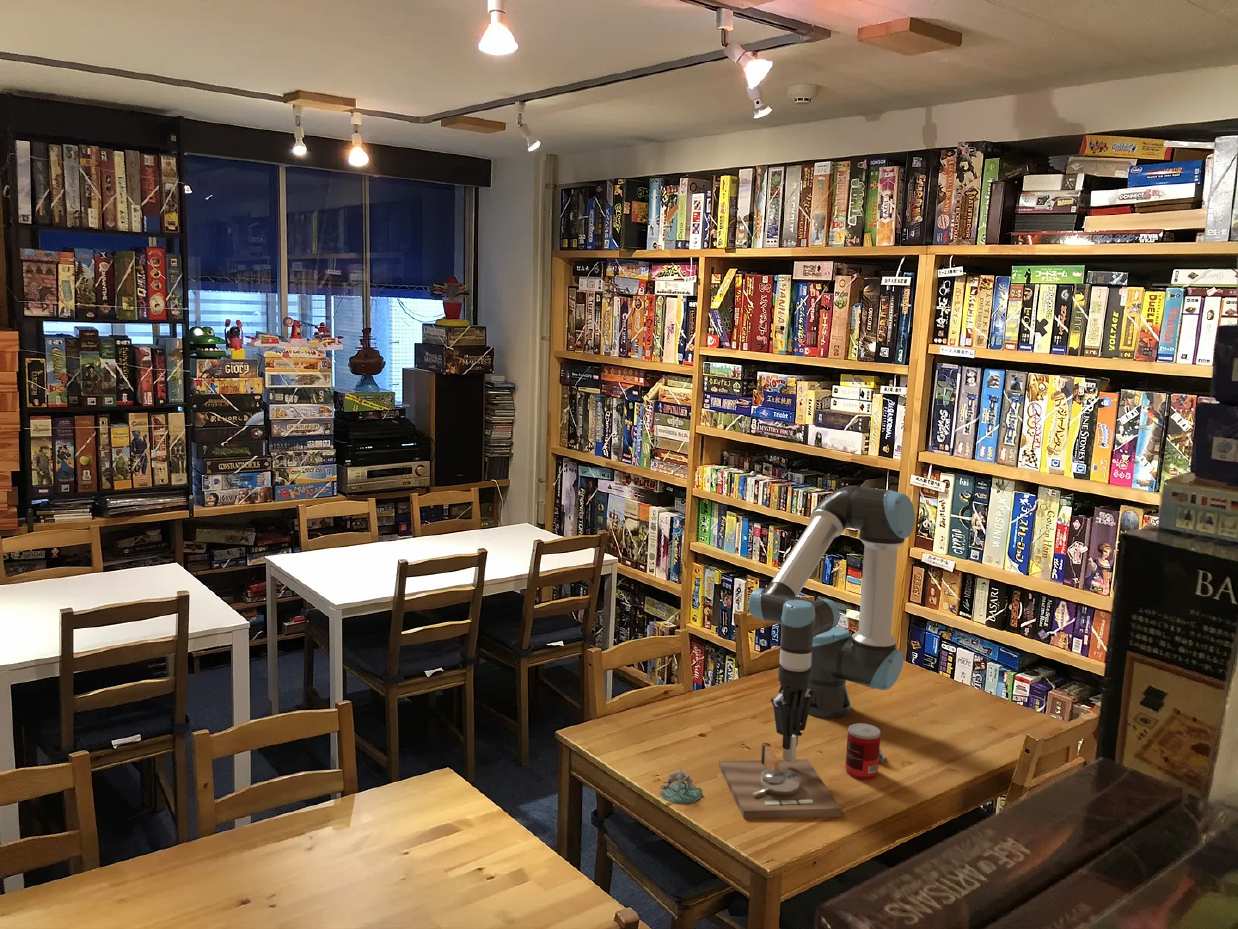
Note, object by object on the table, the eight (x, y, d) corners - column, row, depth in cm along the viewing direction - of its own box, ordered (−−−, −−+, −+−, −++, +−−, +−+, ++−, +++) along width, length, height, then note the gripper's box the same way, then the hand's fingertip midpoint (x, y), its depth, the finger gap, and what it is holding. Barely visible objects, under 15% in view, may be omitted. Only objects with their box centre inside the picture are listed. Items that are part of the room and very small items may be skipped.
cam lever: (733, 761, 231) (734, 743, 230) (782, 760, 232) (783, 742, 231) (752, 798, 213) (754, 778, 212) (805, 796, 214) (806, 777, 214)
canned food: (878, 768, 234) (881, 726, 233) (876, 782, 227) (879, 738, 225) (846, 763, 237) (849, 721, 235) (843, 777, 229) (846, 733, 228)
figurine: (644, 789, 220) (645, 764, 219) (690, 782, 224) (692, 757, 223) (664, 813, 210) (665, 786, 209) (713, 804, 214) (714, 778, 213)
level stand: (718, 769, 231) (719, 760, 231) (806, 767, 234) (807, 758, 233) (743, 819, 207) (744, 809, 207) (840, 816, 210) (841, 807, 210)
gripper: (801, 656, 232) (795, 748, 235) (764, 666, 224) (758, 761, 228) (825, 665, 226) (819, 759, 230) (787, 676, 218) (781, 773, 222)
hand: (788, 760), depth 229 cm, fingers closed
